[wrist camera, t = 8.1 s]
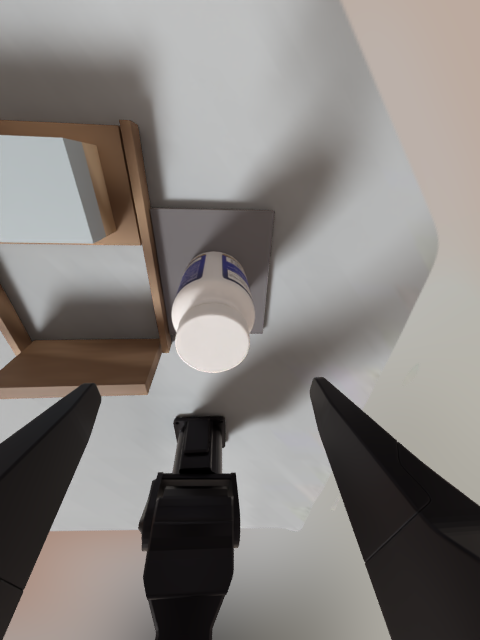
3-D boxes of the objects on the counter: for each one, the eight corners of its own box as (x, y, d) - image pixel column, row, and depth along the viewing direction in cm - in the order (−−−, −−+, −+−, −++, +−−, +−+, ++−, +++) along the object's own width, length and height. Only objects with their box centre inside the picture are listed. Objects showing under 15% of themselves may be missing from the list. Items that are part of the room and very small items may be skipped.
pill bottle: (189, 310, 21) (171, 384, 14) (178, 252, 18) (148, 305, 11) (247, 306, 21) (261, 377, 14) (246, 248, 19) (262, 298, 11)
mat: (261, 330, 24) (262, 333, 23) (170, 331, 23) (169, 334, 23) (273, 210, 18) (274, 211, 17) (151, 207, 17) (149, 208, 17)
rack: (172, 347, 24) (158, 394, 19) (30, 350, 23) (-24, 399, 18) (137, 124, 15) (93, 99, 10) (-104, 113, 14) (-295, 77, 9)
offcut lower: (116, 231, 17) (106, 236, 15) (-17, 228, 16) (-42, 234, 15) (96, 145, 14) (81, 142, 13) (-64, 138, 14) (-99, 134, 12)
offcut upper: (106, 236, 15) (93, 243, 14) (-42, 234, 15) (-72, 241, 13) (81, 142, 13) (62, 137, 11) (-99, 134, 12) (-146, 128, 11)
